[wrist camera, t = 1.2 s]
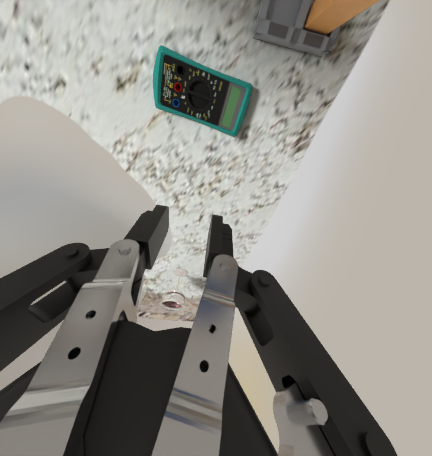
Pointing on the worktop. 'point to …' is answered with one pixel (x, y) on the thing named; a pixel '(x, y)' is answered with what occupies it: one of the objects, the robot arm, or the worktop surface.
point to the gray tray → (291, 27)
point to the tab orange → (334, 13)
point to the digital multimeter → (199, 92)
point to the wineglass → (174, 295)
